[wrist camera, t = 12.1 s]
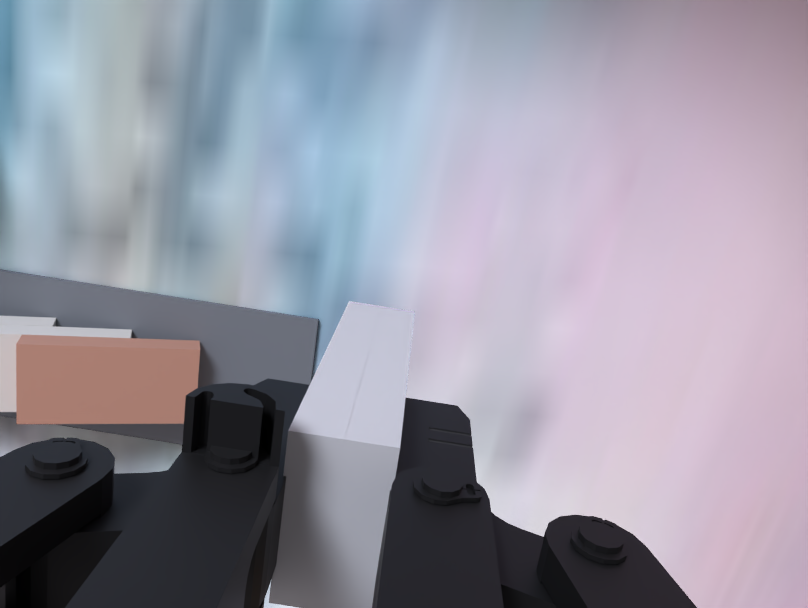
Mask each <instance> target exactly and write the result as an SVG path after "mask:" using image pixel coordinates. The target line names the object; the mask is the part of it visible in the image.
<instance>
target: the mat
mask: <svg viewBox="0 0 808 608" xmlns="http://www.w3.org/2000/svg"><path fill="white" fill-rule="evenodd" d="M0 316H25V317H52V318H56V327H80V328H106V329H132V338H138V339H167V340H196V341H200V360H199V374H198V388H201V387H204V386H208V385H211V384H223V383H238V384H249V385H255V384H257V383H259V382H261V381H263V380H266V379H268V378H269V379H275V380H282V381H288V382H295V383H301V384H307V385H310V383H311V380H312V372H313V364H314V355H315V347H316V339H317V330H318V322H319V319H314V318H307V317H301V316H294V315H288V314H282V313H275V312H269V311H262V310H256V309H250V308H243V307H237V306H230V305H224V304H218V303H211V302H205V301H198V300H192V299H185V298H179V297H173V296H166V295H160V294H153V293H147V292H141V291H134V290H128V289H121V288H115V287H109V286H102V285H96V284H89V283H83V282H77V281H70V280H64V279H57V278H51V277H45V276H38V275H32V274H25V273H19V272H12V271H6V270H0ZM0 416H5V417H12V418H17V412H0ZM56 425H63V426H69V427H76V428H82V429H88V430H95V431H101V432H107V433H114V434H120V435H126V436H133V437H139V438H146V439H152V440H158V441H165V442H171V443H177V444H183V429H184V424H56Z"/></svg>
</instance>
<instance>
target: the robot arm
mask: <svg viewBox="0 0 808 608" xmlns="http://www.w3.org/2000/svg"><path fill="white" fill-rule="evenodd" d="M414 316H415V311H409V310H403V309H396V308H390V307H384V306H377V305H371V304H364V303H358V302H351V301H349V303H348V305H347V307H346V309H345V311H344V313H343V315H342V317H341V320H340V322H339V324H338V326H337V328H336V330H335V332H334V334H333V337H332V339H331V341H330V343H329V345H328V347H327V349H326V351H325V354H324V356H323V358H322V360H321V362H320V364H319V366H318V368H317V371H316V373H315V375H314V377H313V379H312V381H311V383H310V385H307V384H301V383H295V382H288V381H282V380H275V379H269V378H268V379H266V380H263V381H261V382H259V383H257V384H255V385H249V384H238V383H223V384H211V385H208V386H204V387H201V388H197V389H195V390H193V391H192V392H190V393H189V394H187V395H186V399H185V414H184V429H183V444H182V452H181V454H180V455H179V456H178V458H177V459H176V460H175V462H174V463H173V464H172V466H171V467H170V468H169V470H167V471H162V472H152V473H127V474H114V462H115V457H114V456H113V455H112V453H111V452H110V451H109V449H108V448H106V447H104V446H102V445H99V444H97V443H95V442H91V441H85V440H80V439H77V438H67V439H64V438H53V439H50V440H46V441H41V442H35V443H31V444H29V445H26V446H24V447H21V448H18V449H16V450H13V451H11V452H9V453H8V454H6V455H4V456H2V457H0V608H263V607H264V598H265V595H266V593H267V590H268V587H269V584H270V581H271V588H270V597H269V603H274V604H281V605H287V606H293V607H300V608H697V607H696V606H695V605H694V604H693V602H692V601H691V600H690V599H689V598H688V596H687V595H686V594H685V593H684V592H683V590H682V589H681V588H680V587H679V585H678V584H677V583H676V582H675V581H674V579H673V578H672V577H671V576H670V575H669V573H668V572H667V571H666V570H665V569H664V567H663V566H662V565H661V564H660V563H659V561H658V560H657V559H656V558H655V557H654V555H653V554H652V553H651V552H650V551H649V549H648V548H647V547H646V546H645V545H644V544H643V543H642V542H641V541H640V540H638V539H637V538H636V537H635V536H634V535H633V534H631V533H630V532H628V531H626V530H624V529H622V528H621V527H619V526H617V525H616V524H615V523H612V522H610V521H607V520H605V521H604V520H602V518H598V517H594V516H590V517H589V516H581V515H570V516H561V517H558V518H557V519H555V520H553V521H551V522H550V523H549V524H548V527H547V529H546V532H545V535H544V537H542V536H539V535H536V534H533V533H531V532H528V531H525V530H522V529H520V528H517V527H515V526H513V525H511V524H508V523H506V522H505V521H503V520H502V519H500V518H498V517H497V516H495V515H494V514H493V513H492V512H491V508H490V501H489V498H488V495H487V493H486V491H485V489H484V488H483V487H482V486H480V485H479V484H478V483H477V481H476V472H475V463H474V454H473V448H472V436H471V427H470V419H469V418H468V417H467V416H466V415H465V414H464V413H463V412H462V411H461V409H460V408H459V407H458V406H455V405H449V404H442V403H436V402H430V401H423V400H417V399H410V398H406V389H407V380H408V371H409V362H410V353H411V344H412V334H413V325H414Z"/></svg>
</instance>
